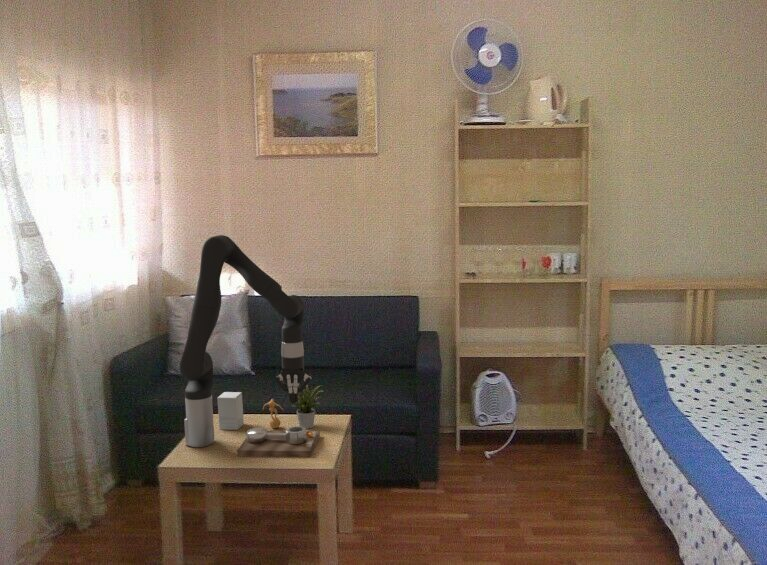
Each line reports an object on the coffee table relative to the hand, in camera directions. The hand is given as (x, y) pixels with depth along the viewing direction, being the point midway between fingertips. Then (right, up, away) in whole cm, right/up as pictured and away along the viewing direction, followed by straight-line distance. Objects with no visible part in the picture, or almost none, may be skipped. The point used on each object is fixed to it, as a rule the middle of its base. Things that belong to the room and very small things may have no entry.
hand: (294, 403), depth 245 cm
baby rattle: (-5, -14, +3) cm, 15 cm away
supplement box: (-27, -13, +25) cm, 39 cm away
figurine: (-10, -14, +21) cm, 27 cm away
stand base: (-5, -16, +4) cm, 17 cm away
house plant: (+3, -13, +23) cm, 27 cm away
